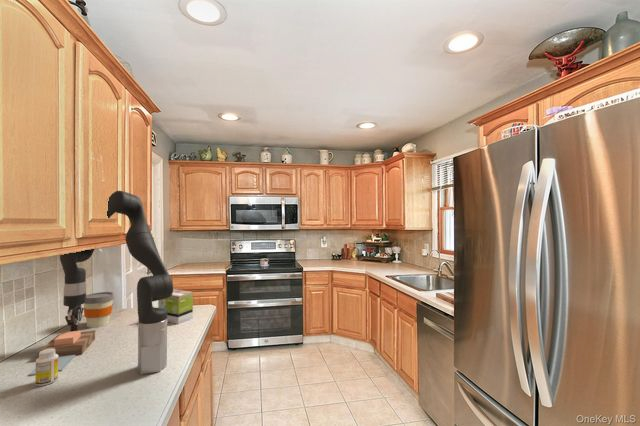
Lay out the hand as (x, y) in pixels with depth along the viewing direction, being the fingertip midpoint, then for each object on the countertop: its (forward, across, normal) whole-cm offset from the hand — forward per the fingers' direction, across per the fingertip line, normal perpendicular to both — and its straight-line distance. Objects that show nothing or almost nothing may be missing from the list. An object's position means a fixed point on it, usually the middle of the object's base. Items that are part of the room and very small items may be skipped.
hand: (74, 333), depth 127 cm
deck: (+5, -4, 0) cm, 6 cm away
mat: (+5, -19, 0) cm, 19 cm away
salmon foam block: (+1, -6, 0) cm, 6 cm away
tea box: (+5, +20, -38) cm, 43 cm away
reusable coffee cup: (+5, +26, -2) cm, 26 cm away
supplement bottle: (+5, -32, -3) cm, 33 cm away
